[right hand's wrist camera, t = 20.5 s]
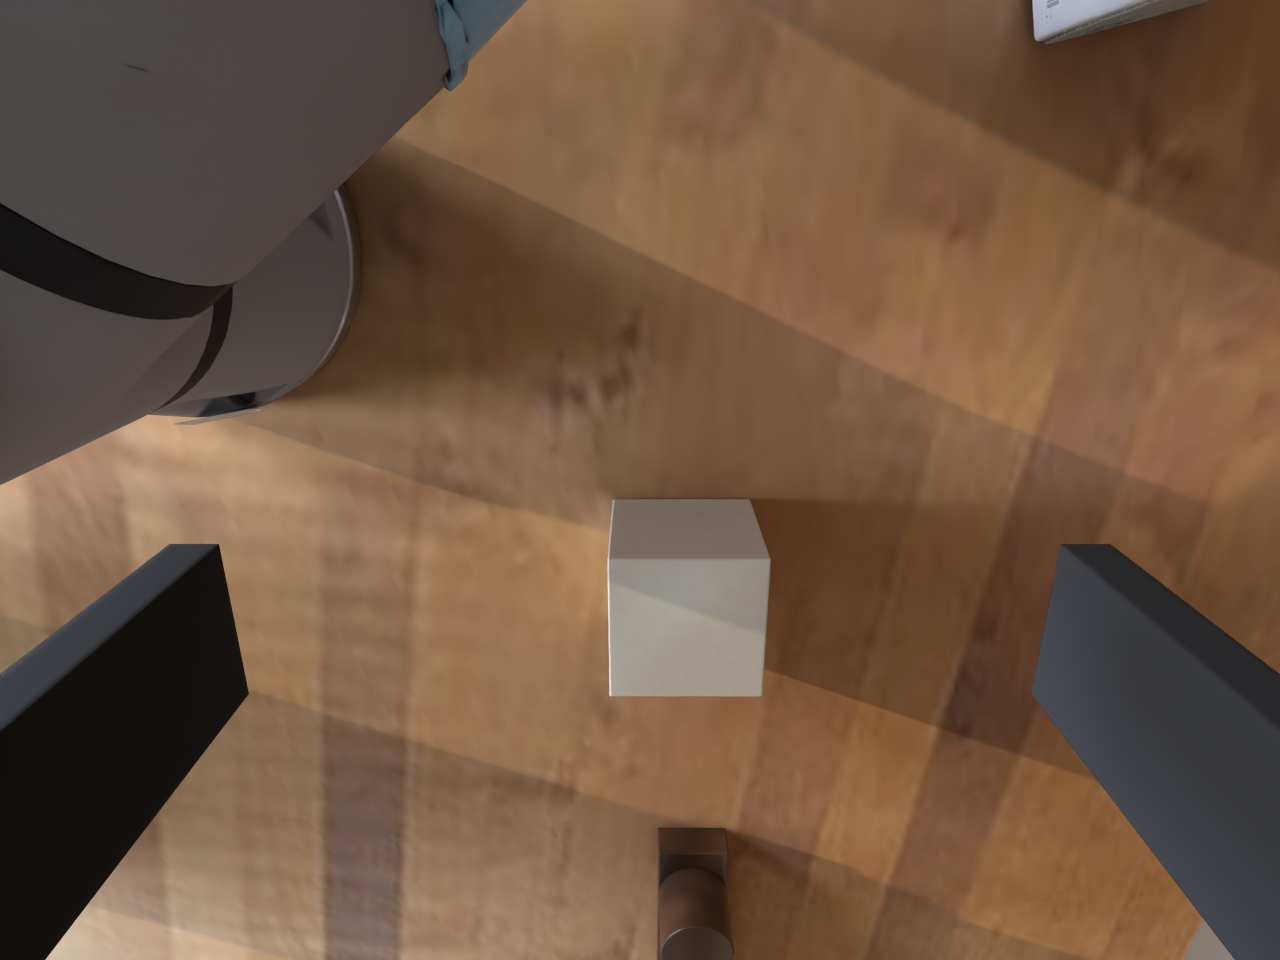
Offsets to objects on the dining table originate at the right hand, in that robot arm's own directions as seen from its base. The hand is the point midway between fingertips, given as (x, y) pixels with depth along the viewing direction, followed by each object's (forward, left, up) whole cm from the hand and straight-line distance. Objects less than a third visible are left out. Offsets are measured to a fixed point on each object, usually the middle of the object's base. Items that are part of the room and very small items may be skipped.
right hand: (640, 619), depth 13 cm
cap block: (+7, -10, -27) cm, 29 cm away
